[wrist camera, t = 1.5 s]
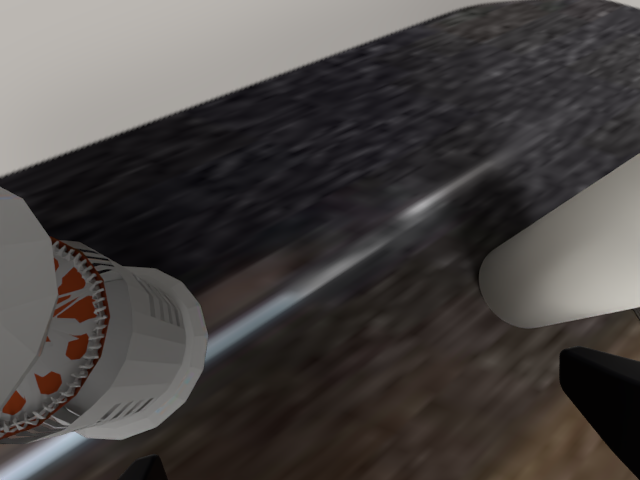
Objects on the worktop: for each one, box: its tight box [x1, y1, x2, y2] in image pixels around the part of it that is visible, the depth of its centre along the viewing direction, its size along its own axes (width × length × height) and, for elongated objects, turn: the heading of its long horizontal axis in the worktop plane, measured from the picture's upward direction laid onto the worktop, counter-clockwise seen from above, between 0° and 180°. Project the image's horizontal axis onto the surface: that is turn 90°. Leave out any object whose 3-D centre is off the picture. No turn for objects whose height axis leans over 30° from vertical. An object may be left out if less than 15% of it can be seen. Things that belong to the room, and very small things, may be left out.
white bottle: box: [479, 153, 640, 328], centre depth 19 cm, size 6×6×13 cm
